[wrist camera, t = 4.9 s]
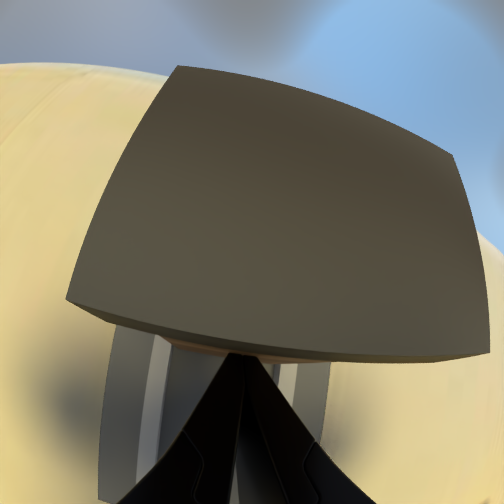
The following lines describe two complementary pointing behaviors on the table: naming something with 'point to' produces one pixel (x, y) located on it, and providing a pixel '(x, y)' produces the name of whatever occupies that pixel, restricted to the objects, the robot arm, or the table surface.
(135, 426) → the fader console
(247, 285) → the fader lever
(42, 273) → the table surface
